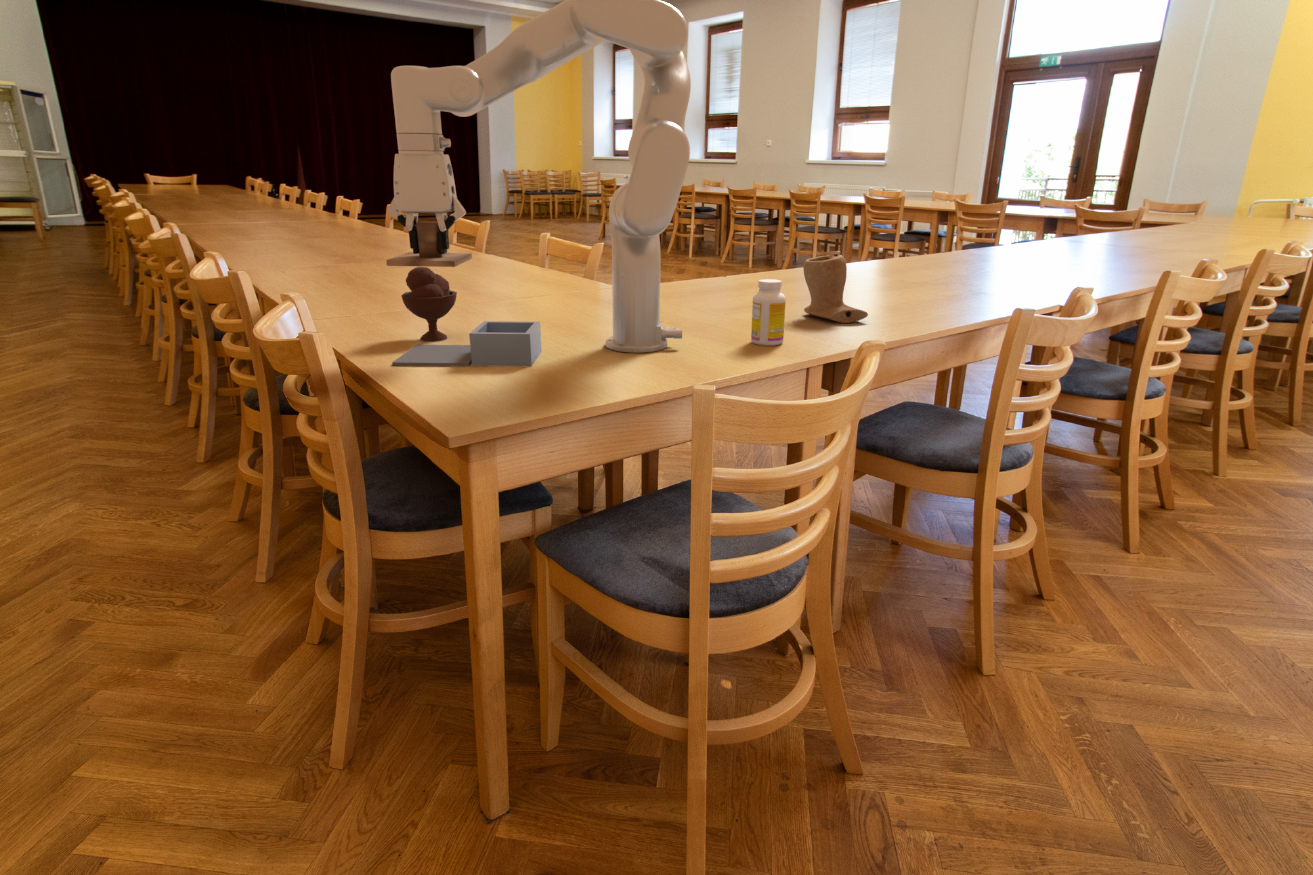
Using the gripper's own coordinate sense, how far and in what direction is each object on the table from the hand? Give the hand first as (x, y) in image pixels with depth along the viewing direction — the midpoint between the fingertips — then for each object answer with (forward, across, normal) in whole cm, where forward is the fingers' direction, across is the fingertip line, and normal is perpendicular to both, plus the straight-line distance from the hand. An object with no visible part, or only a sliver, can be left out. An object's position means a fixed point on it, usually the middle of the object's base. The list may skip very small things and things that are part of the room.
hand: (430, 252), depth 135 cm
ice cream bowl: (+20, +6, -15) cm, 26 cm away
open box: (+19, -13, +1) cm, 24 cm away
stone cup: (+19, -82, -40) cm, 94 cm away
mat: (+20, 0, 0) cm, 20 cm away
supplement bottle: (+19, -64, -14) cm, 69 cm away
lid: (+2, 0, 0) cm, 2 cm away
